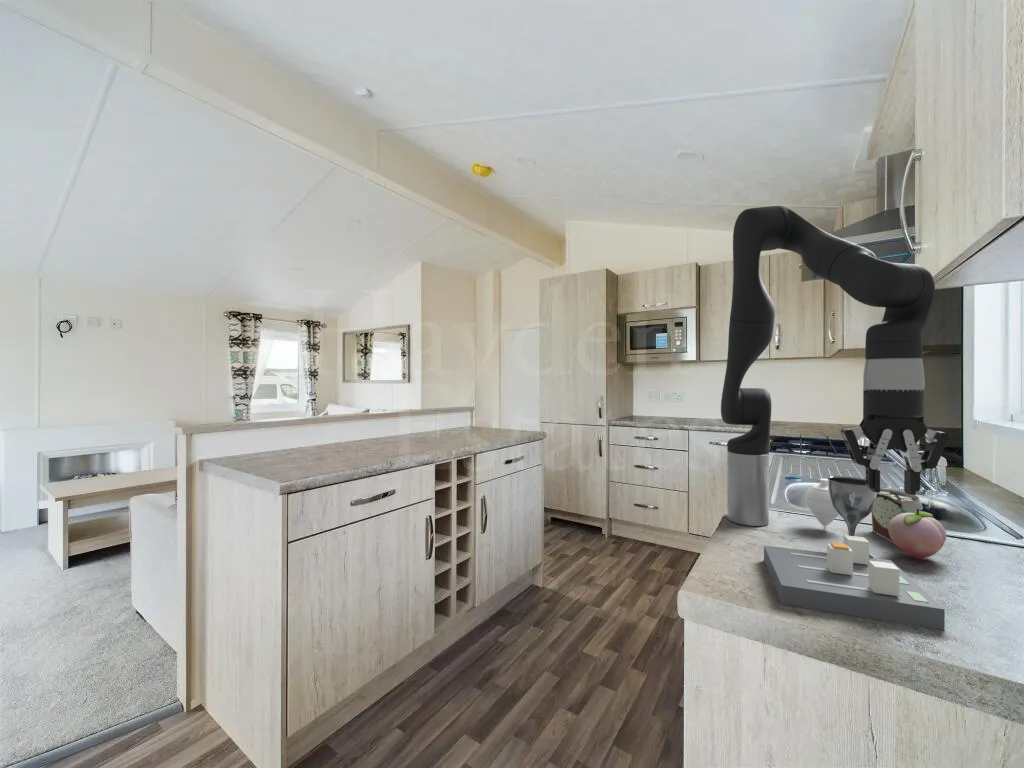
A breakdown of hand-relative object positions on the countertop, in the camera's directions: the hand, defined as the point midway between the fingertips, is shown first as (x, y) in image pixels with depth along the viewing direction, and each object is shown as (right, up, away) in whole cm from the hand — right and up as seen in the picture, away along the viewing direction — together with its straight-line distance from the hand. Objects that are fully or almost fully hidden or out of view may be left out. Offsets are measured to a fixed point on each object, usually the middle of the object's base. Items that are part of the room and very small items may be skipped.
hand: (891, 491), depth 72 cm
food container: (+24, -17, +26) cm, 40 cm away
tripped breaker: (-6, -14, +3) cm, 16 cm away
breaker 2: (-5, -14, -4) cm, 16 cm away
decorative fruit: (+18, -17, +16) cm, 29 cm away
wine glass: (+7, -17, +18) cm, 26 cm away
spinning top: (+12, -17, +32) cm, 38 cm away
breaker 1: (-1, -14, +7) cm, 16 cm away
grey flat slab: (-6, -17, +3) cm, 19 cm away
